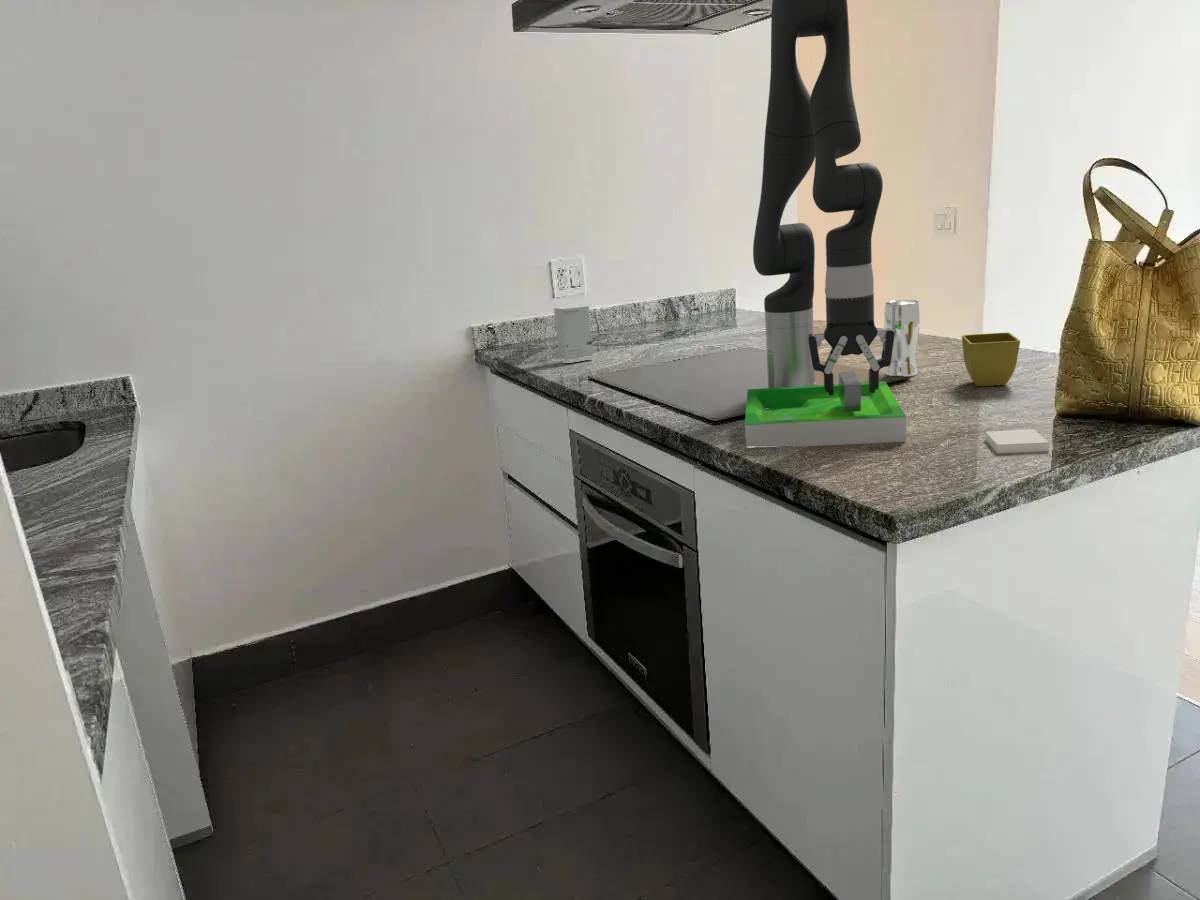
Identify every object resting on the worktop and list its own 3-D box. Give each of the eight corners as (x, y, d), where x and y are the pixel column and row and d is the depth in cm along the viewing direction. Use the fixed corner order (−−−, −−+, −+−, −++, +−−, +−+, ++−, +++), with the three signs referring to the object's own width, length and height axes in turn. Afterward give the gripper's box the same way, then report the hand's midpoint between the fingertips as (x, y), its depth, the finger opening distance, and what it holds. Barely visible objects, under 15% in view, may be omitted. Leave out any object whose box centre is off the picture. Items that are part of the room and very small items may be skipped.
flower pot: (1019, 387, 161) (1021, 340, 159) (969, 390, 163) (970, 343, 161) (1008, 377, 170) (1009, 331, 167) (960, 380, 172) (961, 335, 169)
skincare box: (566, 365, 231) (559, 309, 227) (558, 362, 236) (552, 307, 232) (595, 360, 234) (589, 304, 229) (586, 357, 239) (581, 303, 235)
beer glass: (921, 370, 183) (921, 299, 179) (917, 377, 177) (918, 304, 173) (886, 370, 186) (886, 300, 182) (882, 378, 180) (881, 305, 176)
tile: (997, 444, 127) (1049, 442, 126) (985, 431, 134) (1033, 429, 132) (997, 455, 127) (1048, 453, 126) (984, 442, 134) (1033, 440, 133)
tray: (906, 446, 137) (906, 416, 136) (746, 453, 142) (744, 424, 141) (885, 407, 161) (885, 381, 159) (749, 414, 166) (747, 389, 164)
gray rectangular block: (844, 411, 142) (844, 384, 141) (839, 397, 151) (839, 372, 150) (860, 411, 141) (860, 384, 140) (854, 396, 151) (854, 371, 150)
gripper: (805, 299, 139) (808, 401, 143) (899, 292, 136) (899, 396, 141) (802, 293, 146) (806, 390, 151) (892, 286, 143) (892, 385, 148)
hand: (851, 392), depth 146 cm, fingers open, 6 cm apart
